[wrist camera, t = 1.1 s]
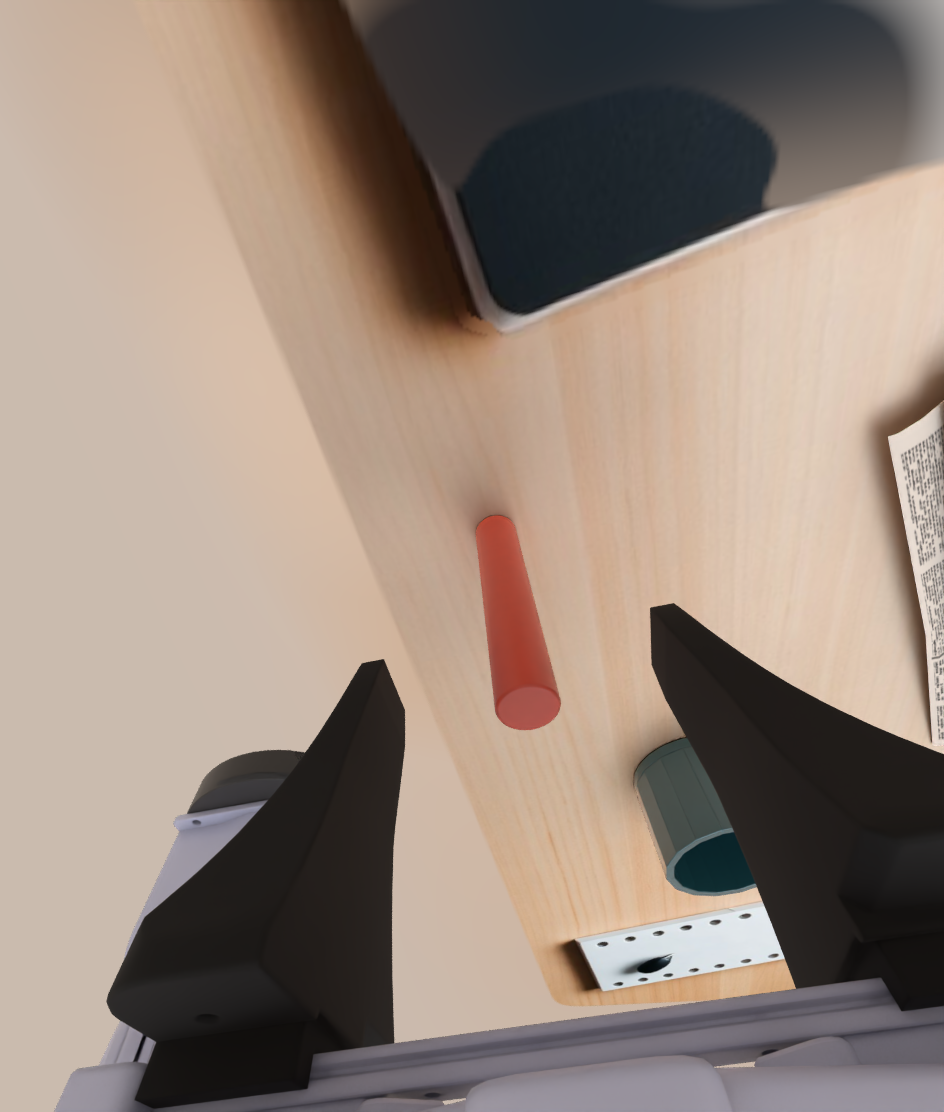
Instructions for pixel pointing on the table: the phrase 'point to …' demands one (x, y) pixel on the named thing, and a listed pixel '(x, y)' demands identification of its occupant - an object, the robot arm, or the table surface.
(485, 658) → the table surface
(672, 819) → the cup
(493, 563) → the red wooden dowel
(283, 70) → the table surface
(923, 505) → the newspaper
